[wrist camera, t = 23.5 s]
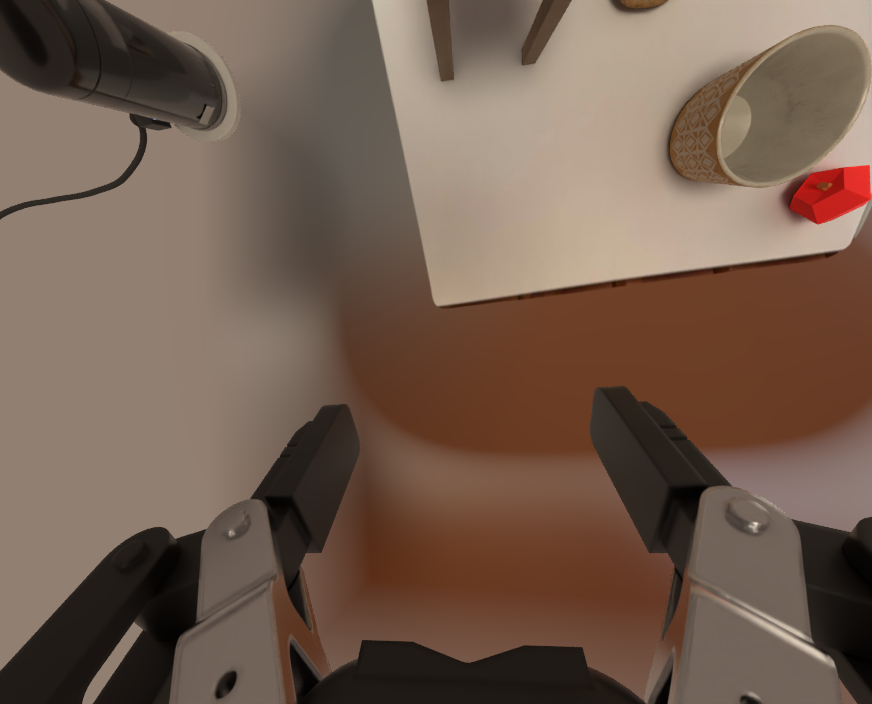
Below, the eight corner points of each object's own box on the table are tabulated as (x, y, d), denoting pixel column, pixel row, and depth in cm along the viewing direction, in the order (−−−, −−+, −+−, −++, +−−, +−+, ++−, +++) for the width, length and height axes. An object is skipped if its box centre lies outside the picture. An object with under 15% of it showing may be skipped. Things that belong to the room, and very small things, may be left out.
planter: (724, 40, 35) (817, -13, 26) (795, 108, 38) (904, 81, 28) (637, 153, 41) (689, 143, 32) (704, 206, 43) (770, 211, 34)
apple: (912, 184, 36) (890, 158, 33) (843, 238, 40) (818, 220, 37) (846, 167, 41) (822, 143, 37) (791, 217, 45) (764, 199, 42)
